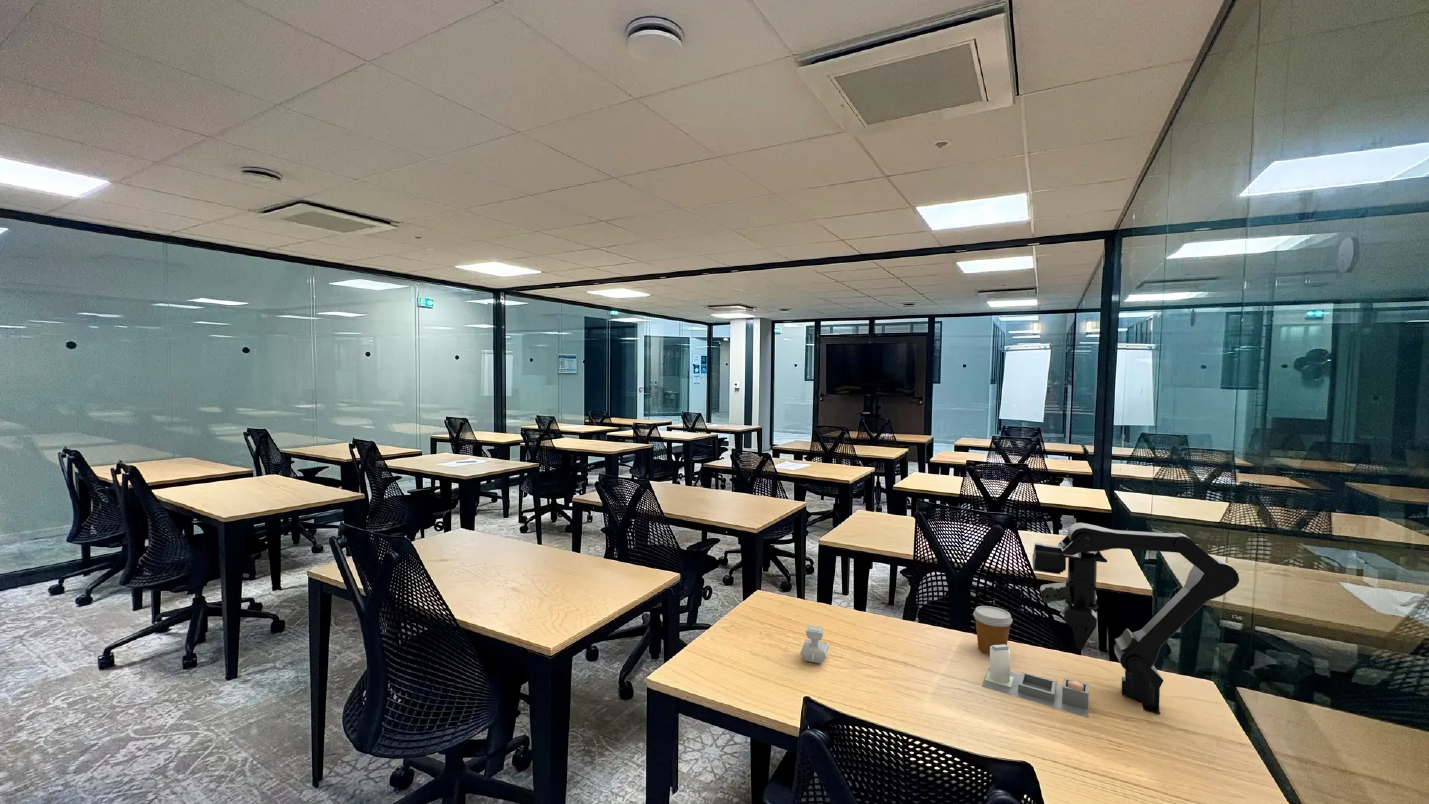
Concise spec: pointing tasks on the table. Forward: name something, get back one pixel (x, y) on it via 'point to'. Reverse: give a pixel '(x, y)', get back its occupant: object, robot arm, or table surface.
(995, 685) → the housing
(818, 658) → the stamp
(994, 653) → the cartridge
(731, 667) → the table surface
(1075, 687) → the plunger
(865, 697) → the table surface
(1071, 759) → the table surface
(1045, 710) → the table surface
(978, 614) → the disposable coffee cup
